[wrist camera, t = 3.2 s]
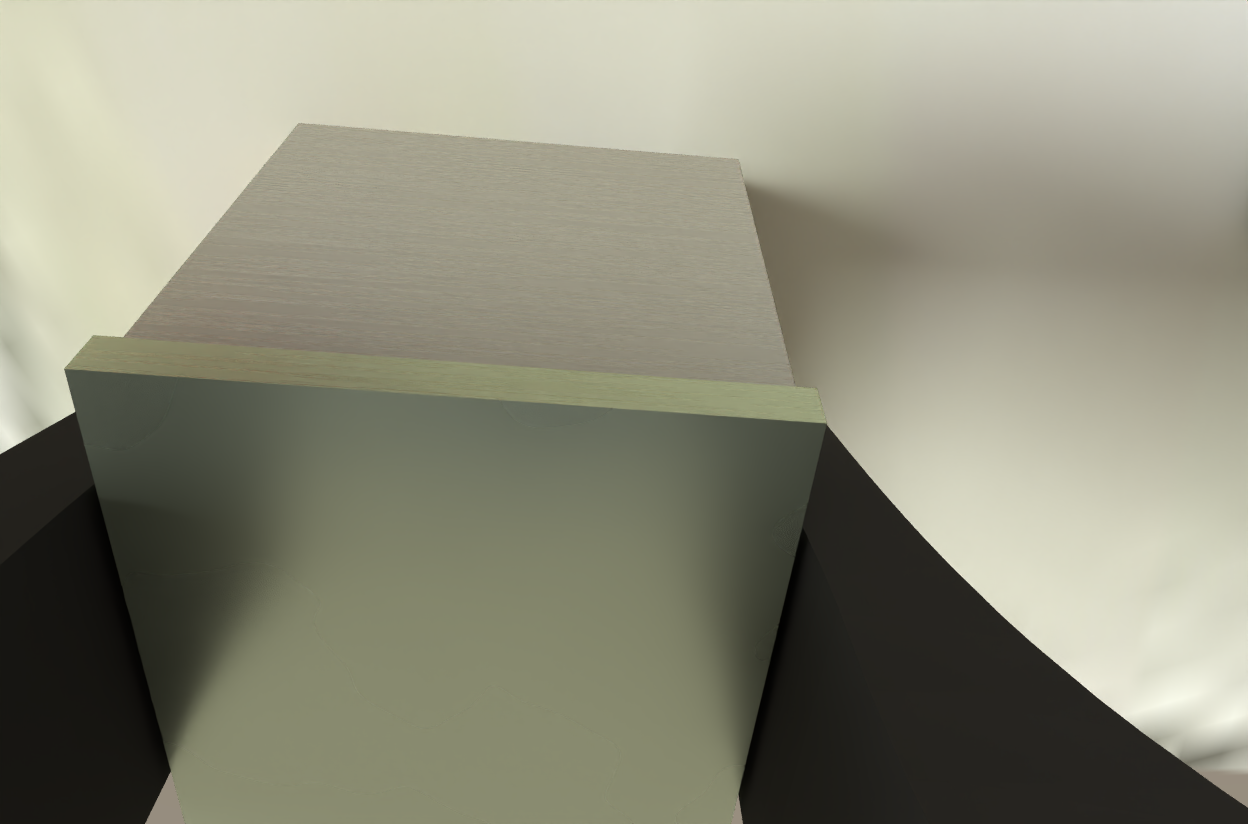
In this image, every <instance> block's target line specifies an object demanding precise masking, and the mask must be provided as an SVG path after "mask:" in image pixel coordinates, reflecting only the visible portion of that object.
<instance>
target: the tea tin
mask: <svg viewBox="0 0 1248 824" xmlns="http://www.w3.org/2000/svg"><path fill="white" fill-rule="evenodd" d="M64 370H65V374H66V377H67V381H68V385H69V389H70V392H71V396H72V400H73V404H74V408H75V411H76V415H77V419H78V423H79V426H80V430H81V434H82V438H83V441H84V445H85V449H86V453H87V457H88V460H89V464H90V468H91V472H92V475H93V479H94V483H95V487H96V490H97V494H98V498H99V502H100V506H101V509H102V513H103V517H104V521H105V524H106V528H107V532H108V536H109V539H110V543H111V547H112V551H113V555H114V558H115V562H116V566H117V570H118V573H119V577H120V581H121V585H122V588H123V592H124V596H125V600H126V604H127V607H128V611H129V615H130V619H131V622H132V626H133V630H134V634H135V637H136V641H137V645H138V649H139V653H140V656H141V660H142V664H143V668H144V671H145V675H146V679H147V683H148V686H149V690H150V694H151V698H152V702H153V705H154V709H155V713H156V717H157V720H158V724H159V728H160V732H161V735H162V739H163V743H164V747H165V751H166V754H167V758H168V762H169V766H170V769H171V773H172V777H173V781H174V784H175V788H176V792H177V796H178V800H179V803H180V807H181V811H182V815H183V818H184V822H185V824H731V822H732V818H733V814H734V810H735V806H736V801H737V797H738V793H739V789H740V785H741V780H742V776H743V772H744V768H745V764H746V760H747V755H748V751H749V747H750V743H751V739H752V734H753V730H754V726H755V722H756V718H757V714H758V709H759V705H760V701H761V697H762V693H763V688H764V684H765V680H766V676H767V672H768V667H769V663H770V659H771V655H772V651H773V647H774V642H775V638H776V634H777V630H778V626H779V621H780V617H781V613H782V609H783V605H784V601H785V596H786V592H787V588H788V584H789V580H790V575H791V571H792V567H793V563H794V559H795V554H796V550H797V546H798V542H799V538H800V534H801V529H802V525H803V521H804V517H805V513H806V508H807V504H808V500H809V496H810V492H811V487H812V483H813V479H814V475H815V471H816V467H817V462H818V458H819V454H820V450H821V446H822V441H823V437H824V433H825V429H826V425H827V422H826V419H825V415H824V412H823V408H822V405H821V401H820V398H819V394H818V390H817V388H808V387H795V383H794V379H793V375H792V371H791V367H790V363H789V359H788V355H787V351H786V347H785V343H784V339H783V335H782V331H781V327H780V323H779V319H778V315H777V311H776V307H775V303H774V299H773V295H772V291H771V287H770V283H769V279H768V275H767V271H766V267H765V263H764V259H763V255H762V251H761V247H760V243H759V239H758V235H757V231H756V227H755V223H754V219H753V215H752V211H751V207H750V203H749V199H748V195H747V191H746V187H745V183H744V179H743V175H742V171H741V167H740V163H739V160H738V159H726V158H714V157H702V156H690V155H678V154H666V153H654V152H642V151H630V150H618V149H606V148H593V147H581V146H569V145H557V144H545V143H533V142H521V141H509V140H497V139H485V138H473V137H461V136H448V135H436V134H424V133H412V132H400V131H388V130H376V129H364V128H352V127H340V126H328V125H316V124H304V123H298V125H297V126H296V127H295V128H294V130H293V131H292V132H291V133H290V134H289V136H288V137H287V138H286V139H285V141H284V142H283V143H282V144H281V145H280V147H279V148H278V149H277V150H276V152H275V153H274V154H273V155H272V156H271V158H270V159H269V160H268V161H267V162H266V164H265V165H264V166H263V167H262V169H261V170H260V171H259V172H258V173H257V175H256V176H255V177H254V178H253V180H252V181H251V182H250V183H249V184H248V186H247V187H246V188H245V189H244V191H243V192H242V193H241V194H240V195H239V197H238V198H237V199H236V200H235V202H234V203H233V204H232V205H231V206H230V208H229V209H228V210H227V211H226V213H225V214H224V215H223V216H222V217H221V219H220V220H219V221H218V222H217V224H216V225H215V226H214V227H213V228H212V230H211V231H210V232H209V233H208V235H207V236H206V237H205V238H204V239H203V241H202V242H201V243H200V244H199V246H198V247H197V248H196V249H195V250H194V252H193V253H192V254H191V255H190V257H189V258H188V259H187V260H186V261H185V263H184V264H183V265H182V266H181V268H180V269H179V270H178V271H177V272H176V274H175V275H174V276H173V277H172V278H171V280H170V281H169V282H168V283H167V285H166V286H165V287H164V288H163V289H162V291H161V292H160V293H159V294H158V296H157V297H156V298H155V299H154V300H153V302H152V303H151V304H150V305H149V307H148V308H147V309H146V310H145V311H144V313H143V314H142V315H141V316H140V318H139V319H138V320H137V321H136V322H135V324H134V325H133V326H132V327H131V329H130V330H129V331H128V332H127V333H126V335H125V336H124V337H110V336H96V335H93V336H92V338H91V339H90V340H89V341H88V342H87V343H86V344H85V346H84V347H83V348H82V349H81V350H80V351H79V353H78V354H77V355H76V356H75V357H74V358H73V359H72V361H71V362H70V363H69V364H68V365H67V366H66V367H65V369H64Z"/></svg>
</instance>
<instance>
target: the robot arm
mask: <svg viewBox="0 0 1248 824" xmlns="http://www.w3.org/2000/svg"><path fill="white" fill-rule="evenodd" d="M170 772H171V769H170V766H169V762H168V758H167V754H166V751H165V747H164V743H163V739H162V735H161V732H160V728H159V724H158V720H157V717H156V713H155V709H154V705H153V702H152V698H151V694H150V690H149V686H148V683H147V679H146V675H145V671H144V668H143V664H142V660H141V656H140V653H139V649H138V645H137V641H136V637H135V634H134V630H133V626H132V622H131V619H130V615H129V611H128V607H127V604H126V600H125V596H124V592H123V588H122V585H121V581H120V577H119V573H118V570H117V566H116V562H115V558H114V555H113V551H112V547H111V543H110V539H109V536H108V532H107V528H106V524H105V521H104V517H103V513H102V509H101V506H100V502H99V498H98V494H97V490H96V487H95V483H94V479H93V475H92V472H91V468H90V464H89V460H88V457H87V453H86V449H85V445H84V441H83V438H82V434H81V430H80V426H79V423H78V419H77V415H76V412H74V413H73V414H71V415H69V416H67V417H65V418H64V419H62V420H60V421H58V422H57V423H55V424H53V425H51V426H49V427H48V428H46V429H44V430H42V431H41V432H39V433H37V434H35V435H34V436H32V437H30V438H28V439H26V440H25V441H23V442H21V443H19V444H18V445H16V446H14V447H12V448H10V449H9V450H7V451H5V452H3V453H2V454H0V824H145V822H146V821H147V818H148V816H149V814H150V812H151V810H152V808H153V806H154V804H155V802H156V800H157V798H158V796H159V794H160V792H161V790H162V788H163V786H164V784H165V782H166V780H167V778H168V776H169V774H170ZM738 794H739V801H740V807H741V814H742V820H743V824H1248V808H1247V807H1246V806H1245V805H1243V804H1242V803H1240V802H1238V801H1237V800H1236V799H1234V798H1233V797H1231V796H1230V795H1228V794H1227V793H1225V792H1224V791H1222V790H1221V789H1220V788H1218V787H1217V786H1215V785H1214V784H1213V783H1211V782H1210V781H1208V780H1207V779H1206V778H1204V777H1203V776H1202V775H1200V774H1199V773H1198V772H1196V771H1195V770H1193V769H1192V768H1191V767H1189V766H1188V765H1186V764H1185V763H1184V762H1182V761H1181V760H1180V759H1178V758H1177V757H1175V756H1174V755H1173V754H1171V753H1170V752H1168V751H1167V750H1166V749H1164V748H1163V747H1162V746H1160V745H1159V744H1157V743H1156V742H1155V741H1153V740H1152V739H1150V738H1149V737H1148V736H1146V735H1145V734H1144V733H1142V732H1141V731H1140V730H1138V729H1137V728H1136V727H1134V726H1133V725H1132V724H1130V723H1129V722H1128V721H1127V720H1125V719H1124V718H1123V717H1121V716H1120V715H1119V714H1117V713H1116V712H1115V711H1114V710H1112V709H1111V708H1110V707H1108V706H1107V705H1106V704H1105V703H1103V702H1102V701H1101V700H1100V699H1098V698H1097V697H1096V696H1095V695H1093V694H1092V693H1091V692H1090V691H1089V690H1087V689H1086V688H1085V687H1084V686H1083V685H1081V684H1080V683H1079V682H1078V681H1077V680H1075V679H1074V678H1073V677H1072V676H1071V675H1070V674H1068V673H1067V672H1066V671H1065V670H1064V669H1062V668H1061V667H1060V666H1059V665H1058V664H1056V663H1055V662H1054V661H1053V660H1052V659H1050V658H1049V657H1048V656H1047V655H1046V654H1044V653H1043V652H1042V651H1041V650H1040V649H1039V648H1037V647H1036V646H1035V645H1034V644H1033V643H1031V642H1030V641H1029V640H1028V639H1027V638H1026V637H1025V636H1024V635H1022V634H1021V633H1020V632H1019V631H1018V630H1017V629H1016V628H1015V627H1014V626H1012V625H1011V624H1010V623H1009V622H1008V621H1007V620H1006V619H1005V618H1004V617H1003V616H1002V615H1000V614H999V613H998V612H997V611H996V610H995V609H994V608H993V607H992V606H991V605H990V604H989V603H988V602H987V601H986V600H985V599H984V598H983V597H982V596H981V595H980V594H979V593H978V592H977V591H976V590H975V589H974V588H973V587H972V586H971V585H970V584H969V583H968V582H967V581H966V580H965V579H964V578H963V577H961V576H960V575H959V574H958V573H957V572H956V571H955V570H954V569H953V568H952V567H951V566H950V565H949V564H948V563H947V562H946V561H945V560H944V558H943V557H942V556H941V555H940V554H939V553H938V552H937V551H936V550H935V549H934V548H933V547H932V546H931V545H930V544H929V543H928V542H927V541H926V540H925V539H924V537H923V536H922V535H921V534H920V533H919V532H918V531H917V530H916V529H915V528H914V527H913V526H912V524H911V523H910V522H909V521H908V520H907V519H906V518H905V517H904V516H903V514H902V513H901V512H900V511H899V510H898V509H897V508H896V507H895V505H894V504H893V503H892V502H891V501H890V500H889V499H888V498H887V496H886V495H885V494H884V493H883V492H882V491H881V489H880V488H879V487H878V486H877V485H876V484H875V483H874V481H873V480H872V479H871V478H870V477H869V475H868V474H867V473H866V472H865V471H864V469H863V468H862V467H861V466H860V465H859V464H858V462H857V461H856V460H855V459H854V458H853V456H852V455H851V454H850V453H849V452H848V450H847V449H846V448H845V447H844V445H843V444H842V443H841V442H840V441H839V439H838V438H837V437H836V436H835V434H834V433H833V432H832V431H831V430H830V428H829V427H828V426H827V425H826V429H825V433H824V437H823V441H822V446H821V450H820V454H819V458H818V462H817V467H816V471H815V475H814V479H813V483H812V487H811V492H810V496H809V500H808V504H807V508H806V513H805V517H804V521H803V525H802V529H801V534H800V538H799V542H798V546H797V550H796V554H795V559H794V563H793V567H792V571H791V575H790V580H789V584H788V588H787V592H786V596H785V601H784V605H783V609H782V613H781V617H780V621H779V626H778V630H777V634H776V638H775V642H774V647H773V651H772V655H771V659H770V663H769V667H768V672H767V676H766V680H765V684H764V688H763V693H762V697H761V701H760V705H759V709H758V714H757V718H756V722H755V726H754V730H753V734H752V739H751V743H750V747H749V751H748V755H747V760H746V764H745V768H744V772H743V776H742V780H741V785H740V789H739V793H738Z"/></svg>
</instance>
